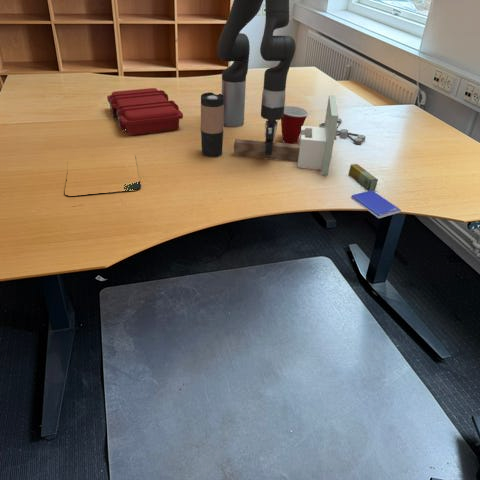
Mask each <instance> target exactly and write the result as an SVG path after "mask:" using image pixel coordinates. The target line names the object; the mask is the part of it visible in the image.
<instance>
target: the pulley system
mask: <svg viewBox="0 0 480 480" xmlns="http://www.w3.org/2000/svg"><path fill="white" fill-rule="evenodd" d="M342 123H343V122H342V118H341V117H340V118H339V117H338V121H337V127H336V132H335V138H336V137H337V136H339V138H340V139H347V138H348V139H350V140H351V141H352V143H354V144H357V145H360V144H362V143H363V142H364V141H365V140H366V135H364V134H358V133H352V132H349V130H348V129H343V128H342V129H340V130H338V128H339V127H340V125H341V124H342ZM324 124H325V122H323V123H322V122H321V123H319V124H318V125H319V126H318V127H323V128H324ZM338 126H339V127H338ZM354 137H355V138H354Z"/></svg>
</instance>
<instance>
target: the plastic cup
mask: <svg viewBox="0 0 480 480" xmlns="http://www.w3.org/2000/svg"><path fill="white" fill-rule="evenodd" d="M309 115H310V112H309V111H308V110H307V109H305V108H303V107H300V106H297V105H296V106H294V105H285V107H284V116H283V118H282V119H280V122H281V124H280V125H281V139H282V142H283V141H284V142H283V143H287V144H288V143H289V144H294V143H295V144H297V143H298V141H299V140H300V134H301V126H304V123H305V121H306V119H307V117H308V116H309Z"/></svg>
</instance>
